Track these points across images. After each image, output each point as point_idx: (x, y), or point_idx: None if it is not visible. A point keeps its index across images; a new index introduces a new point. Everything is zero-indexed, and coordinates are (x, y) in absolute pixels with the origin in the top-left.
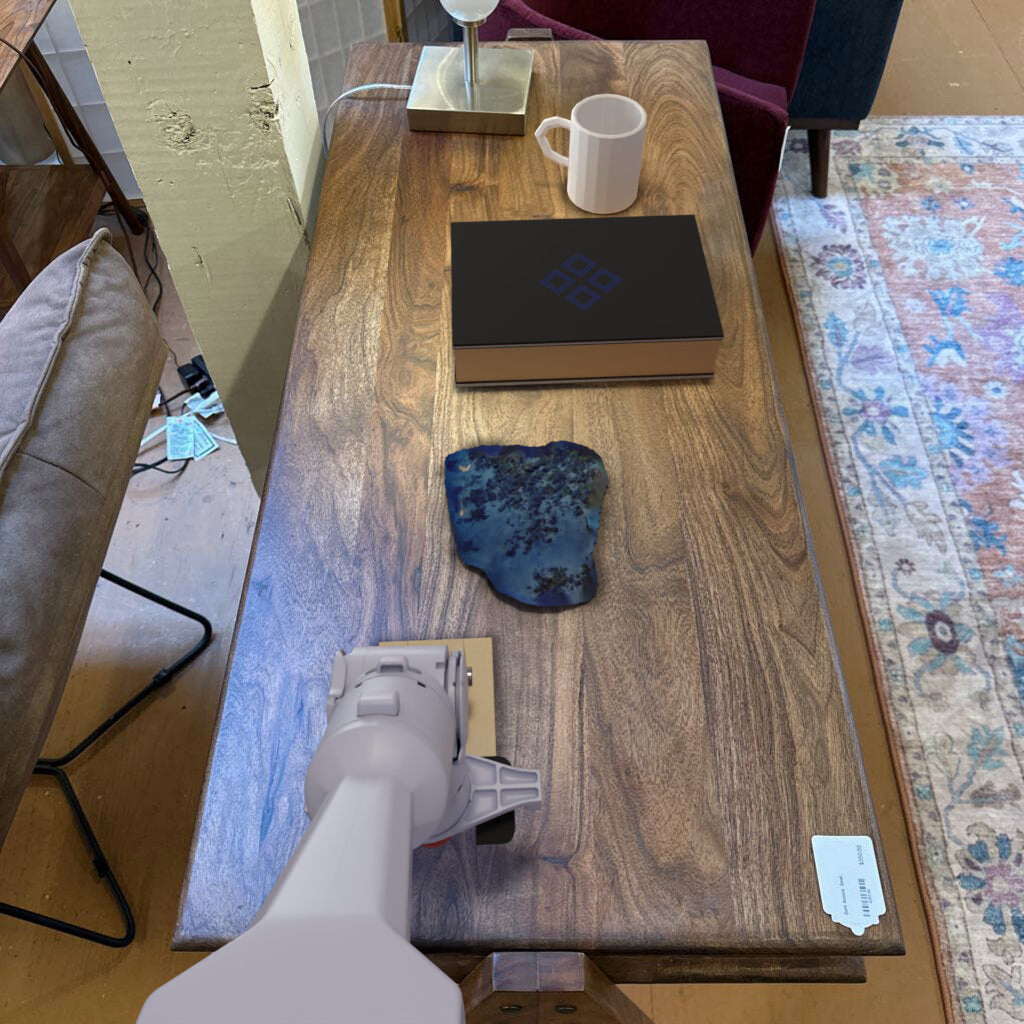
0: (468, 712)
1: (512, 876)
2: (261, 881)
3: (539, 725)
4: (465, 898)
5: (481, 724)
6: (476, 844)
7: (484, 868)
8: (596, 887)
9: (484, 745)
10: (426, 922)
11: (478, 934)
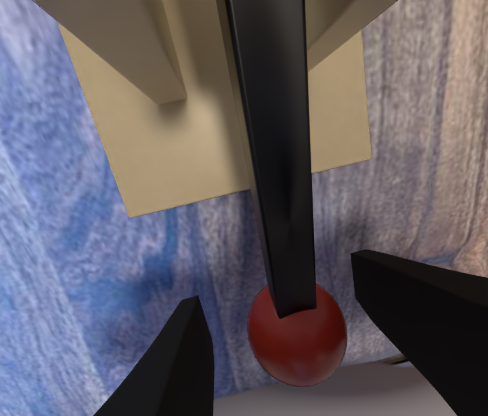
0: None
1: None
2: (14, 391)
3: (424, 36)
4: None
5: (334, 52)
6: (374, 323)
7: (344, 293)
8: None
9: (344, 103)
10: None
11: (343, 363)
